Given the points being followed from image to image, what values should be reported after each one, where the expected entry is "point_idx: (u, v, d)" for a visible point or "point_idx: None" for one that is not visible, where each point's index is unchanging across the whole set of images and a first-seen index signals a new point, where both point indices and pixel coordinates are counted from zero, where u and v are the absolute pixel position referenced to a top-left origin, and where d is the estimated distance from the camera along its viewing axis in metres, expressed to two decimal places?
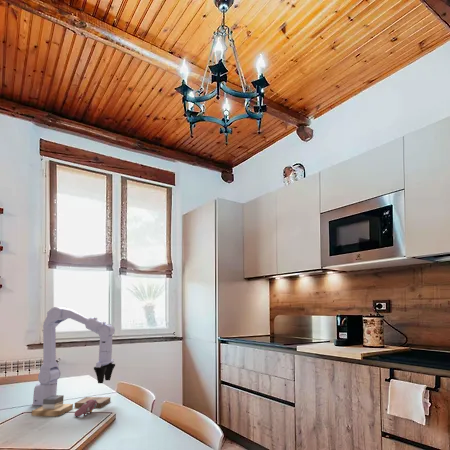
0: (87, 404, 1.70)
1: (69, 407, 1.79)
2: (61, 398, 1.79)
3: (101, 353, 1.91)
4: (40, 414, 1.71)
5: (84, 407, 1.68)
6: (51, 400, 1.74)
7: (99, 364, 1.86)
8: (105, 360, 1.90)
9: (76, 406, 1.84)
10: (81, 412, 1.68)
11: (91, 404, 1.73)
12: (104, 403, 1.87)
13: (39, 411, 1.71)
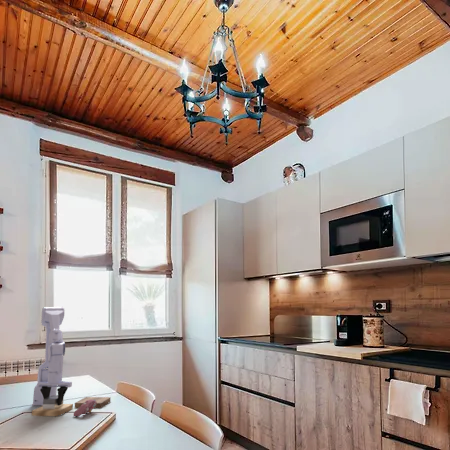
0: (86, 404, 1.70)
1: (69, 407, 1.79)
2: None
3: None
4: (40, 414, 1.71)
5: (83, 407, 1.69)
6: (51, 400, 1.74)
7: None
8: (47, 381, 1.78)
9: (76, 406, 1.84)
10: (80, 412, 1.68)
11: (90, 404, 1.73)
12: (104, 403, 1.87)
13: (39, 411, 1.71)
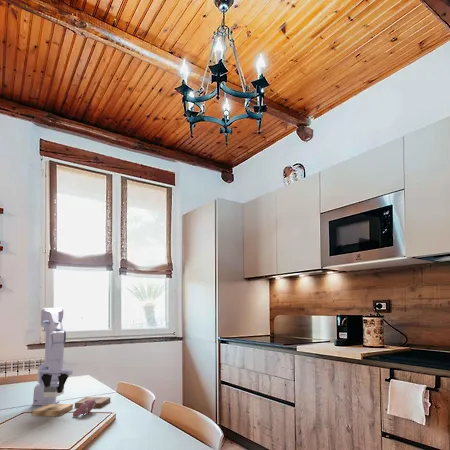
0: (85, 404, 1.70)
1: (69, 407, 1.79)
2: None
3: None
4: (40, 414, 1.71)
5: (82, 407, 1.69)
6: (52, 388, 1.75)
7: None
8: (48, 369, 1.79)
9: (76, 406, 1.84)
10: (79, 412, 1.68)
11: (89, 404, 1.73)
12: (104, 403, 1.87)
13: (39, 411, 1.71)
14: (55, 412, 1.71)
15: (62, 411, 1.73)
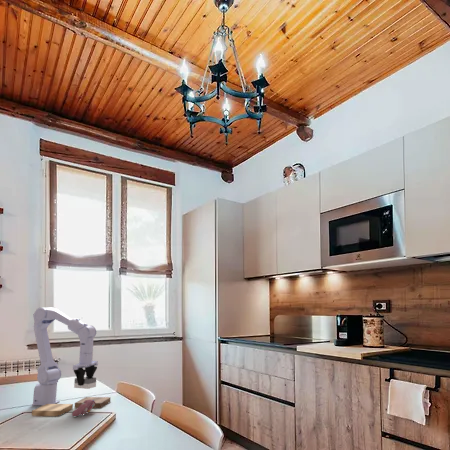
0: (85, 404, 1.70)
1: (69, 407, 1.79)
2: None
3: (80, 355, 1.88)
4: (40, 414, 1.71)
5: (82, 407, 1.69)
6: (94, 379, 1.88)
7: (75, 366, 1.83)
8: (84, 362, 1.87)
9: (76, 406, 1.84)
10: (79, 412, 1.68)
11: (89, 404, 1.73)
12: (104, 403, 1.87)
13: (39, 411, 1.71)
14: (55, 412, 1.71)
15: (62, 411, 1.73)
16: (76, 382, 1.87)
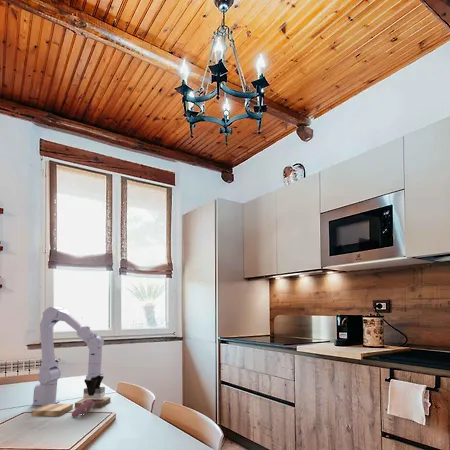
0: (84, 404, 1.70)
1: (69, 407, 1.79)
2: None
3: (91, 365, 1.90)
4: (40, 414, 1.71)
5: (81, 407, 1.69)
6: (103, 388, 1.91)
7: (89, 377, 1.85)
8: (95, 372, 1.90)
9: (76, 406, 1.84)
10: (78, 412, 1.68)
11: (88, 404, 1.73)
12: (104, 403, 1.87)
13: (39, 411, 1.71)
14: (55, 412, 1.71)
15: (62, 411, 1.73)
16: (86, 392, 1.88)
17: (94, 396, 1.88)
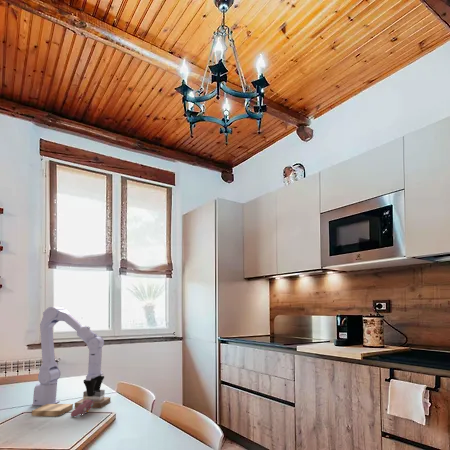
0: (84, 404, 1.70)
1: (69, 407, 1.79)
2: None
3: (91, 366, 1.90)
4: (40, 414, 1.71)
5: (81, 407, 1.69)
6: (103, 391, 1.91)
7: (89, 377, 1.85)
8: (95, 373, 1.90)
9: (76, 406, 1.84)
10: (78, 412, 1.68)
11: (88, 404, 1.73)
12: (104, 403, 1.87)
13: (39, 411, 1.71)
14: (55, 412, 1.71)
15: (62, 411, 1.73)
16: (85, 395, 1.88)
17: (94, 399, 1.87)
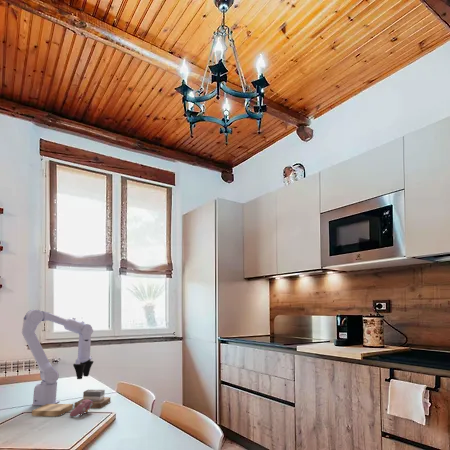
0: (83, 404, 1.70)
1: (69, 407, 1.79)
2: None
3: (80, 351, 2.03)
4: (40, 414, 1.71)
5: (80, 407, 1.69)
6: (103, 391, 1.91)
7: (78, 361, 1.97)
8: (84, 357, 2.02)
9: (76, 406, 1.84)
10: (77, 412, 1.68)
11: (87, 404, 1.73)
12: (104, 403, 1.87)
13: (39, 411, 1.71)
14: (55, 412, 1.71)
15: (62, 411, 1.73)
16: (85, 395, 1.88)
17: (94, 399, 1.87)
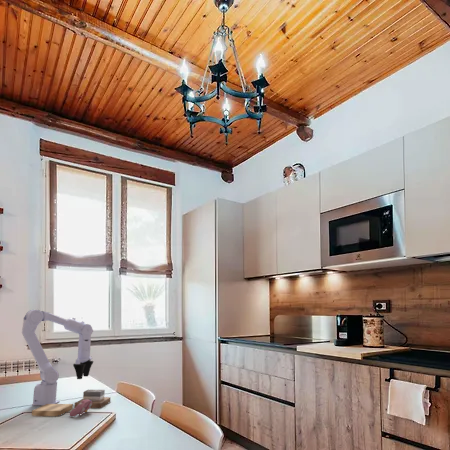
0: (82, 404, 1.70)
1: (69, 407, 1.79)
2: None
3: (80, 351, 2.03)
4: (40, 414, 1.71)
5: (79, 407, 1.69)
6: (103, 391, 1.91)
7: (78, 361, 1.97)
8: (84, 357, 2.02)
9: None
10: (76, 412, 1.68)
11: (86, 404, 1.73)
12: (104, 403, 1.87)
13: (39, 411, 1.71)
14: (55, 412, 1.71)
15: (62, 411, 1.73)
16: (85, 395, 1.88)
17: (94, 399, 1.87)
